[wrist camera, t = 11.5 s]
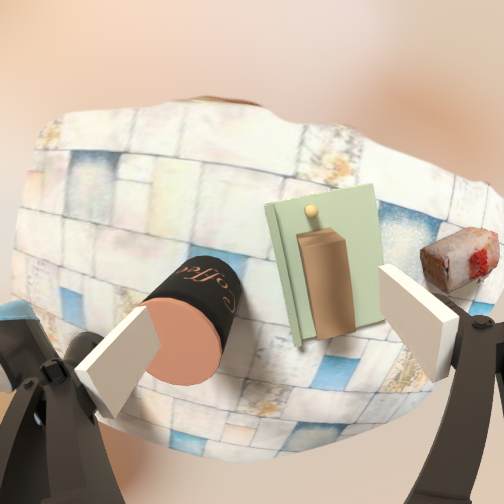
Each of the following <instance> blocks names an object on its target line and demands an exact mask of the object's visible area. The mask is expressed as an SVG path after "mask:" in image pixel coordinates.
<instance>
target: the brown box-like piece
mask: <svg viewBox="0 0 504 504" xmlns="http://www.w3.org/2000/svg"><path fill="white" fill-rule="evenodd" d="M296 237H297V242H298V247H299V252H300V257H301V262H302V267H303V273H304V278H305V283H306V289H307V295H308V300H309V306H310V311H311V315H312V319H313V323H314V327H315V331H316V335H317V339H318V340H322V339H327V338H332V337H336V336H340V335H344V334H349V333H353V332H356V325H355V313H354V302H353V293H352V284H351V276H350V268H349V261H348V254H347V247H346V240H345V239H344V238H343V237H342V236H340V235H339V234H338V233H337V232H335V231H334V230H333V229H332V228H330V227H328V228H323V229H319V230H314V231H309V232H304V233H300V234H296Z"/></svg>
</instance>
